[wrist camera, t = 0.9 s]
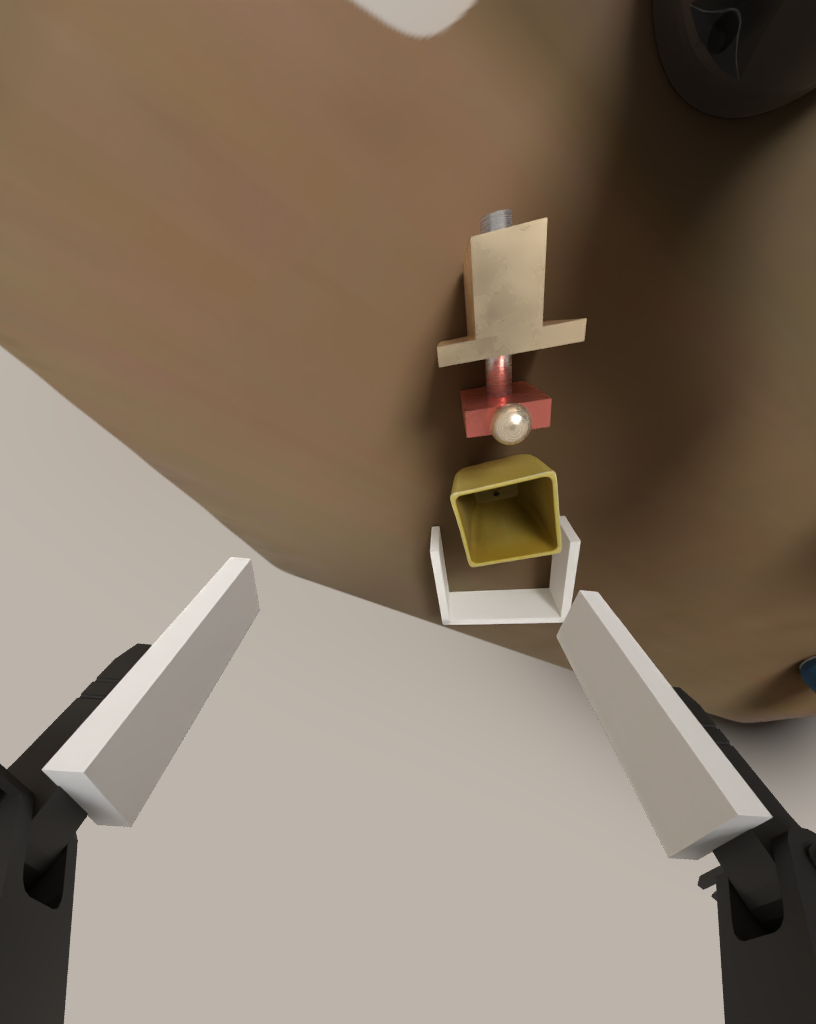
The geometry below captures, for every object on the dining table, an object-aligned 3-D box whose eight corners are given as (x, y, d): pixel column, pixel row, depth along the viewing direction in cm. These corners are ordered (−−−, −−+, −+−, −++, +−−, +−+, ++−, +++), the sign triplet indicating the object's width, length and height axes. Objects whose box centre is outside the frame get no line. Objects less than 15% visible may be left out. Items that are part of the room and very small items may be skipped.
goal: (564, 515, 35) (580, 541, 31) (556, 592, 42) (568, 622, 38) (431, 526, 38) (429, 551, 34) (443, 597, 45) (442, 625, 41)
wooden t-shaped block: (548, 219, 22) (627, 136, 13) (540, 403, 29) (586, 441, 19) (429, 250, 24) (418, 198, 14) (447, 417, 31) (448, 458, 21)
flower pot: (538, 505, 35) (563, 554, 28) (464, 520, 37) (469, 569, 30) (529, 435, 31) (556, 470, 23) (447, 456, 33) (448, 494, 26)
